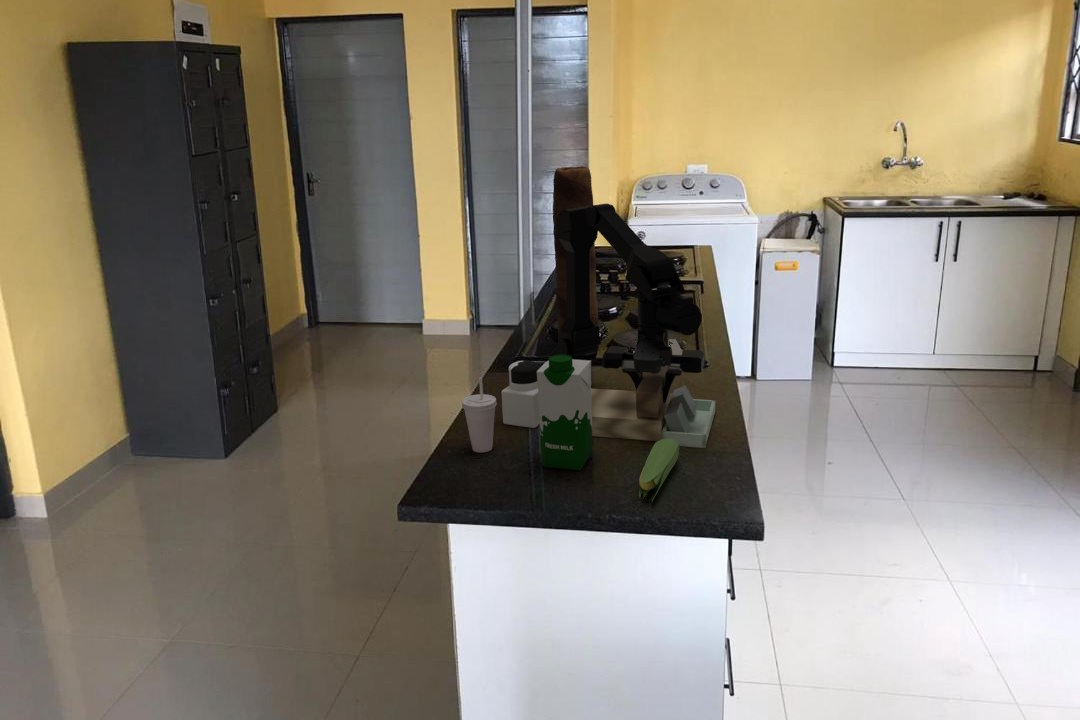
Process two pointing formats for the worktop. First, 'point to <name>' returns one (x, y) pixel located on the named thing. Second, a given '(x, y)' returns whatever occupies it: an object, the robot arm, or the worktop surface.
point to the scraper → (650, 394)
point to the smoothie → (480, 419)
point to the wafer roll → (567, 194)
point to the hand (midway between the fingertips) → (653, 401)
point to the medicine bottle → (521, 395)
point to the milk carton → (565, 412)
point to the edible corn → (658, 465)
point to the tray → (695, 426)
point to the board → (624, 416)
